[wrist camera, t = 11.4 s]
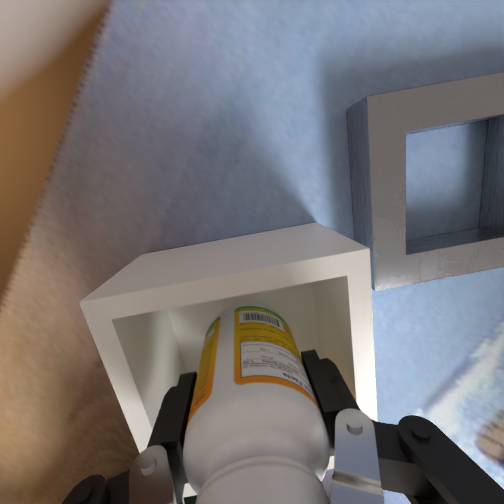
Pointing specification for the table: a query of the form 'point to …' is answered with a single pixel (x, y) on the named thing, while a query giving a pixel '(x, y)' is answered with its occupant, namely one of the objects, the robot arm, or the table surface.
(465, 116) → the socket collar
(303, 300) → the bin
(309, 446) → the supplement bottle
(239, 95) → the table surface
